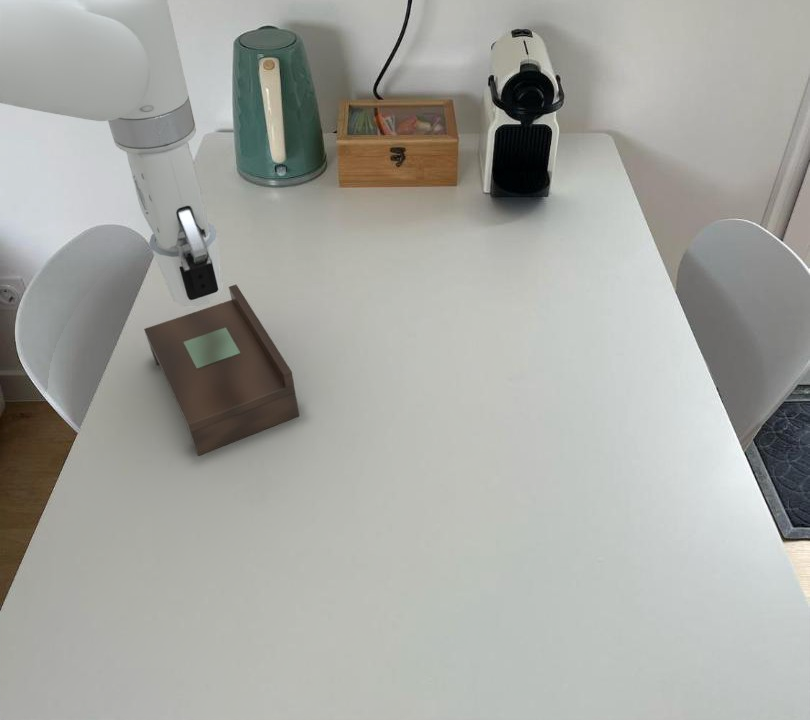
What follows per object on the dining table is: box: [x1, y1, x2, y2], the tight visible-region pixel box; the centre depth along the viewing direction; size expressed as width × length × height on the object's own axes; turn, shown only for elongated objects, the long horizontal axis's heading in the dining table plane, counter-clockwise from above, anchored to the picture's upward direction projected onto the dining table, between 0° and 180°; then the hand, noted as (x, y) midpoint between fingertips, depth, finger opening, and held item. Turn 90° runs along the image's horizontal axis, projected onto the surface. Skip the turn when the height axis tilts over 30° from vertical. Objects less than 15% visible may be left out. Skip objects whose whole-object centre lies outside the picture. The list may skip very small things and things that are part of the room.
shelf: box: [144, 284, 300, 456], centre depth 94 cm, size 12×18×7 cm, turn 28°
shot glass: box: [148, 222, 224, 307], centre depth 86 cm, size 7×7×7 cm
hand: (192, 274), depth 87 cm, fingers closed on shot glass, 6 cm apart
